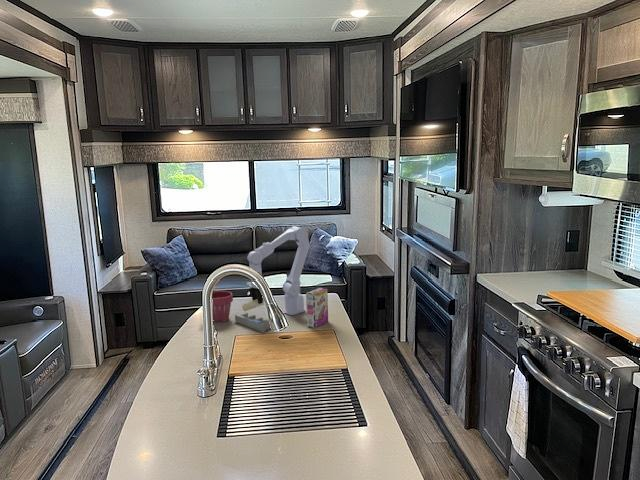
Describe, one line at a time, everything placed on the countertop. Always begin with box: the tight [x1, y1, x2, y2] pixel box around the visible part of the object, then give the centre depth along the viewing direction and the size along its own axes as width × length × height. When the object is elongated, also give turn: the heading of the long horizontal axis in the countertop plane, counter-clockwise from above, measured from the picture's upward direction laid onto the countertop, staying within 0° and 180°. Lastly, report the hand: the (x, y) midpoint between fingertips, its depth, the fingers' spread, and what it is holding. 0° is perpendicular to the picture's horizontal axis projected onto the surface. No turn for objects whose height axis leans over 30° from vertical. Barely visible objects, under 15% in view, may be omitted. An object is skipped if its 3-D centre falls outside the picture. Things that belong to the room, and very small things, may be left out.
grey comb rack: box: [234, 312, 271, 333], centre depth 226 cm, size 6×22×4 cm, turn 44°
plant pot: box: [212, 290, 234, 323], centre depth 236 cm, size 14×14×13 cm
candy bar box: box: [305, 287, 329, 329], centre depth 222 cm, size 11×5×16 cm, turn 144°
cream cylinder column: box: [241, 299, 265, 312], centre depth 233 cm, size 13×4×4 cm, turn 134°
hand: (257, 302), depth 234 cm, fingers closed on cream cylinder column, 4 cm apart
